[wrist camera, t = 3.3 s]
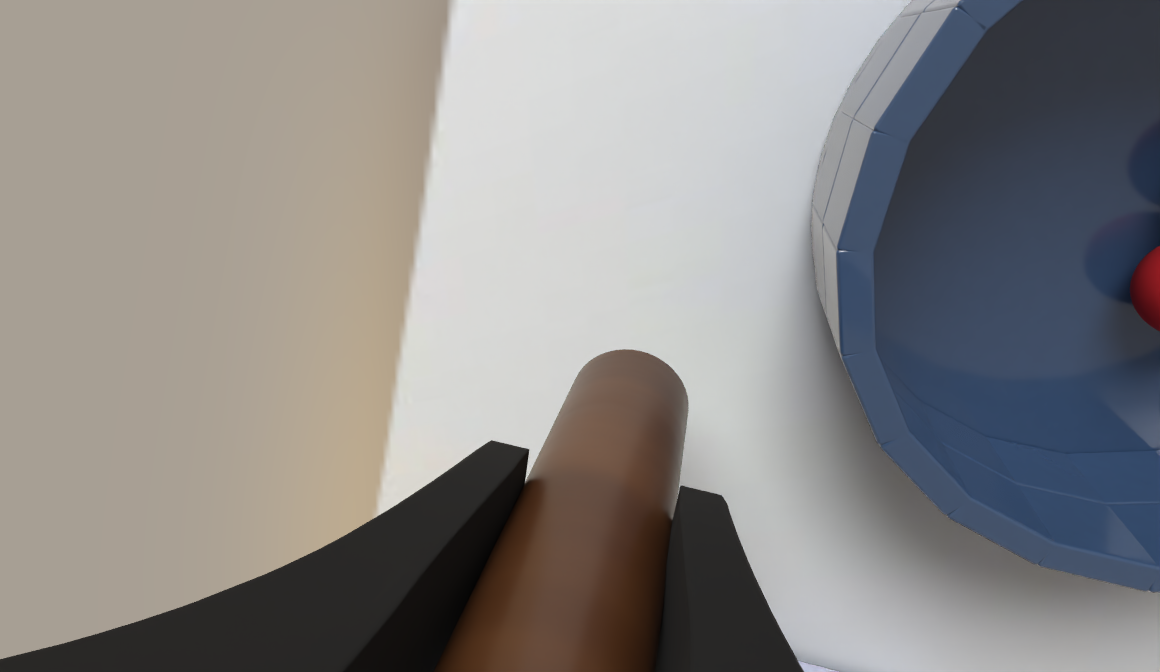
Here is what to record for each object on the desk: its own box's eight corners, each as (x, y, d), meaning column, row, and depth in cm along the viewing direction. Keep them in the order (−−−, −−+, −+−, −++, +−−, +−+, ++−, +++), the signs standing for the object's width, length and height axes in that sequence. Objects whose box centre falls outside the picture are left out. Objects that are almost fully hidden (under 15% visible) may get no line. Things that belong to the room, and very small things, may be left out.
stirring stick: (675, 464, 14) (599, 997, 6) (565, 438, 15) (356, 914, 7) (700, 363, 14) (647, 836, 5) (581, 337, 14) (360, 747, 6)
